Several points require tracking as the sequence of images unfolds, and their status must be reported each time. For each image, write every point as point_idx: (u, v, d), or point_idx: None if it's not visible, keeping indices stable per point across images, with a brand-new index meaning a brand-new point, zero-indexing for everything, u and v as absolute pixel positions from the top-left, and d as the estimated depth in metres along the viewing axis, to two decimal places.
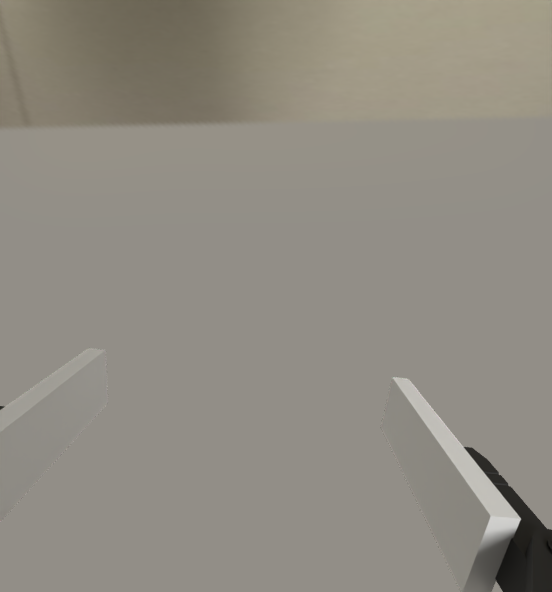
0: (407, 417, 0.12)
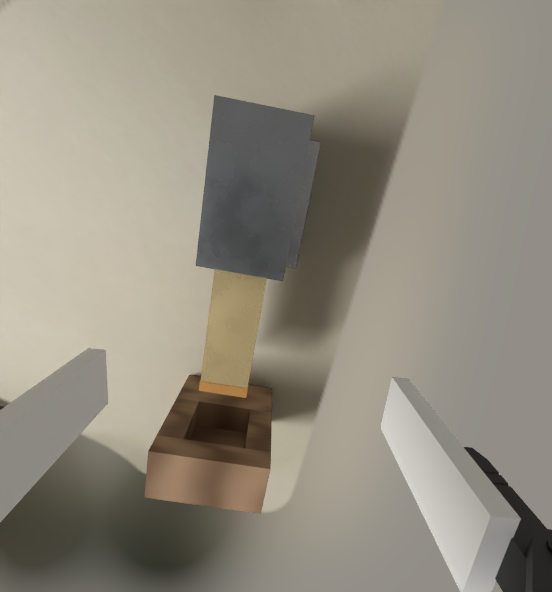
0: (407, 417, 0.12)
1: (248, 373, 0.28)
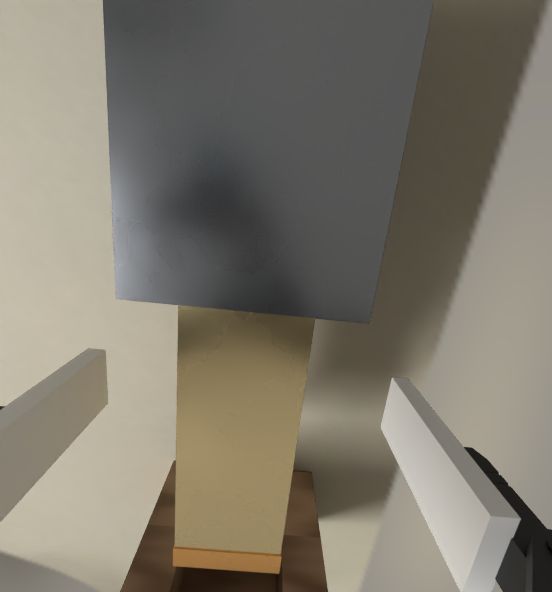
0: (407, 417, 0.12)
1: (281, 526, 0.12)
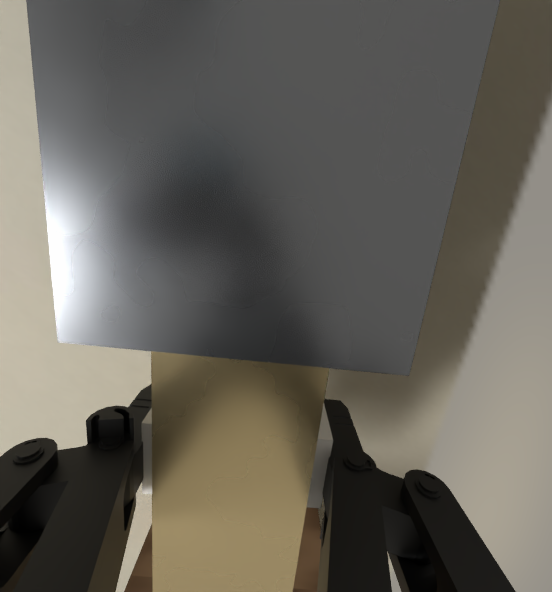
0: None
1: None
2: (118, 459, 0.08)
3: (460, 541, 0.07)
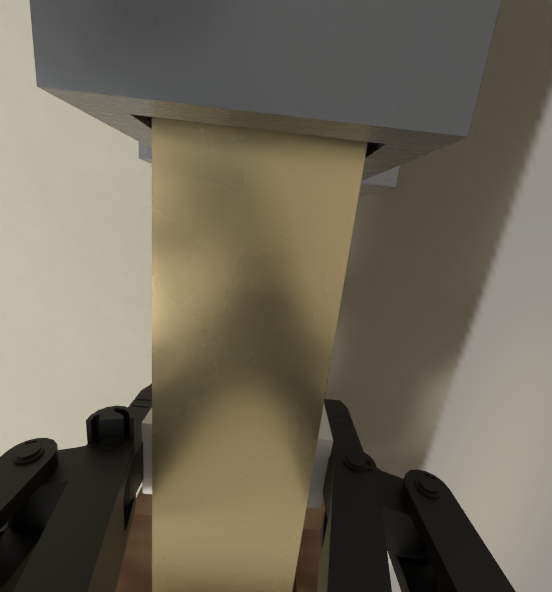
0: None
1: None
2: (118, 459, 0.08)
3: (460, 541, 0.07)
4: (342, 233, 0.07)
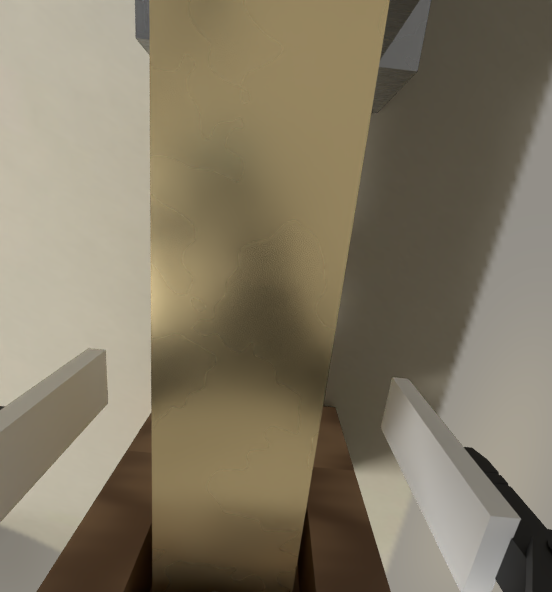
0: (407, 417, 0.12)
1: None
2: None
3: None
4: (343, 221, 0.07)
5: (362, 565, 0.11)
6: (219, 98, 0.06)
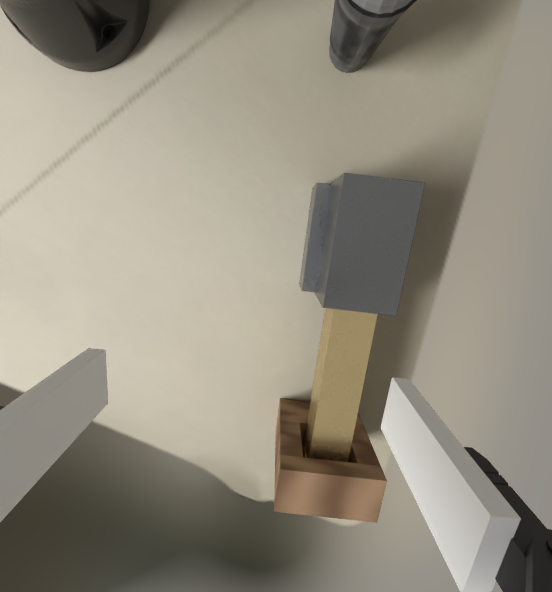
0: (407, 417, 0.12)
1: (347, 460, 0.34)
2: None
3: None
4: (366, 361, 0.31)
5: (368, 452, 0.34)
6: (342, 339, 0.30)
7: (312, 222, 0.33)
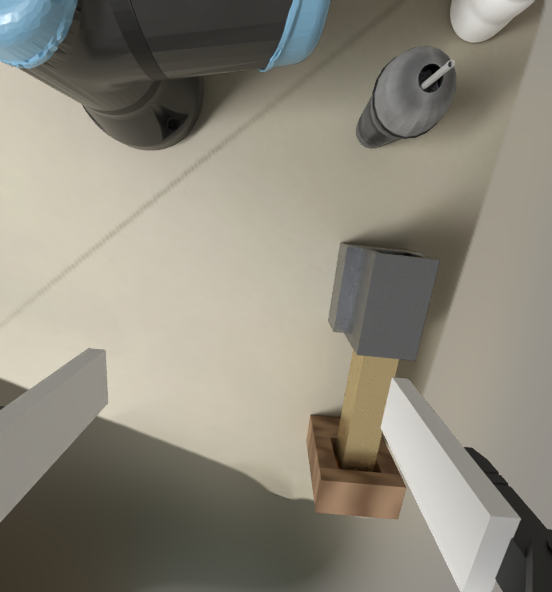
0: (407, 417, 0.12)
1: (372, 470, 0.41)
2: None
3: None
4: None
5: (389, 463, 0.42)
6: (370, 376, 0.38)
7: (343, 277, 0.40)
